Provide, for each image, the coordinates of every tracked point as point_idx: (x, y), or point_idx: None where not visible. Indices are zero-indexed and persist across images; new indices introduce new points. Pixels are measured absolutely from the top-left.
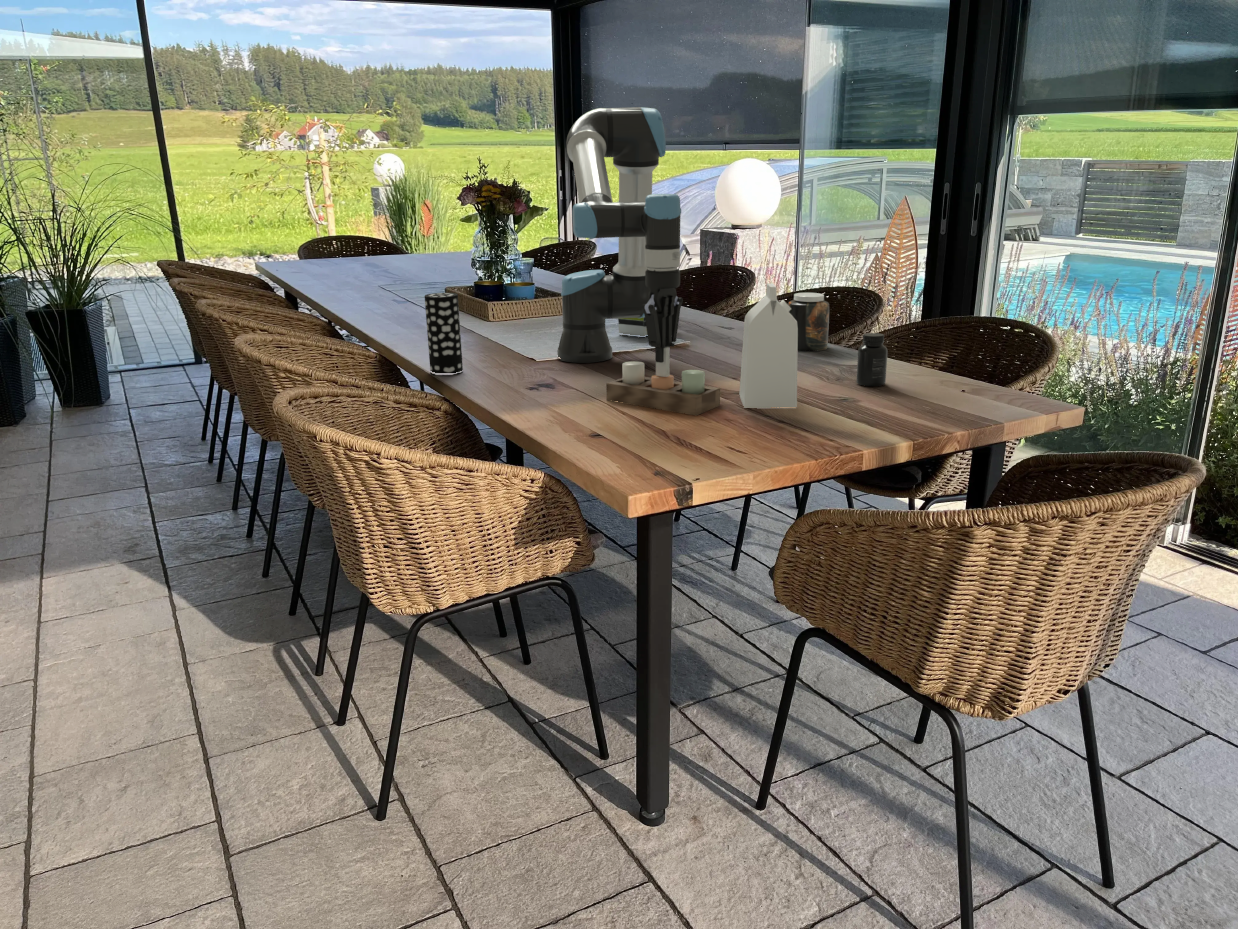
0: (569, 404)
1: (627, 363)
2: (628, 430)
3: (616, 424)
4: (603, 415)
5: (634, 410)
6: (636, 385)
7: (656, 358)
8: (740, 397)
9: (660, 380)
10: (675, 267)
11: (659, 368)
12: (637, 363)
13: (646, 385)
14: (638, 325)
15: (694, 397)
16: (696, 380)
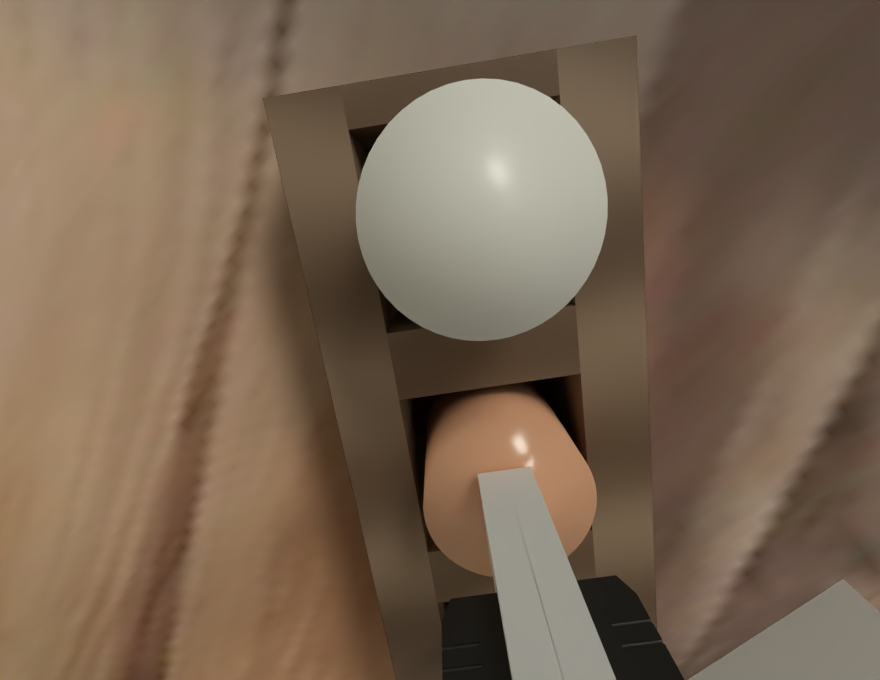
0: (54, 12)
1: (452, 148)
2: (41, 604)
3: (50, 514)
4: (88, 363)
5: (276, 411)
6: (380, 338)
7: (442, 651)
8: (792, 616)
9: (435, 538)
10: None
11: (489, 548)
12: (524, 242)
13: (427, 391)
14: None
15: None
16: None
